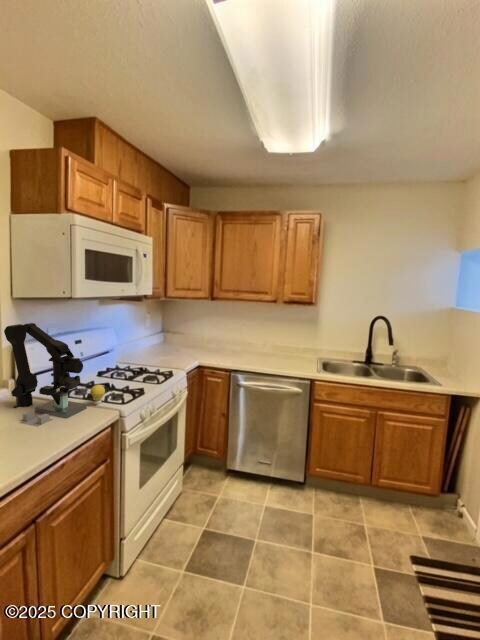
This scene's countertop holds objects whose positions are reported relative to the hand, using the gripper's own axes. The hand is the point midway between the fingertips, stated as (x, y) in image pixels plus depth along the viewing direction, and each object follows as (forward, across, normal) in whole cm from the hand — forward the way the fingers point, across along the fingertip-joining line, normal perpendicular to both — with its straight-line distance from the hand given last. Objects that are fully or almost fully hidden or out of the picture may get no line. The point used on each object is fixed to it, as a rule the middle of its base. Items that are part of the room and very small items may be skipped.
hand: (61, 403), depth 164 cm
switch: (+4, 0, 0) cm, 4 cm away
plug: (+2, 0, 0) cm, 2 cm away
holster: (+4, -13, +1) cm, 14 cm away
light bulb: (+4, +14, -9) cm, 17 cm away
